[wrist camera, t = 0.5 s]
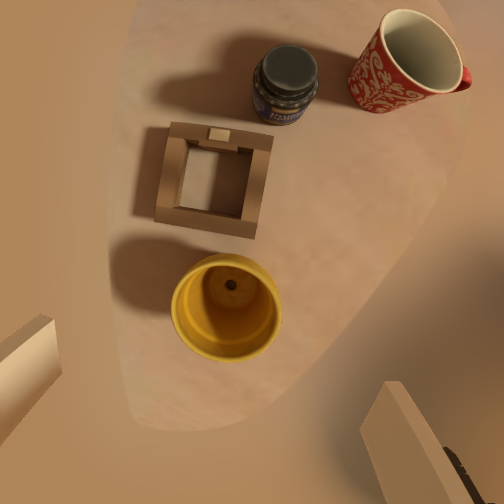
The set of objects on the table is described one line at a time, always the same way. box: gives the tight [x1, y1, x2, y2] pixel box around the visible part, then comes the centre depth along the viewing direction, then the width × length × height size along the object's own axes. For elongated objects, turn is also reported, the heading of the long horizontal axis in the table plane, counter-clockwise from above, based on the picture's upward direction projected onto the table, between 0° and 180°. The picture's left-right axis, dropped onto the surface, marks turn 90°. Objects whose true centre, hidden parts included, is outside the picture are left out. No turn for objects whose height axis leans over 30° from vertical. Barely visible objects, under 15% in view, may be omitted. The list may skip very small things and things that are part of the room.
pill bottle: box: [253, 44, 319, 126], centre depth 26 cm, size 6×6×11 cm
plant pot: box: [171, 253, 282, 363], centre depth 31 cm, size 10×10×10 cm
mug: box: [348, 9, 472, 113], centre depth 24 cm, size 13×9×14 cm
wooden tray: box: [154, 122, 274, 239], centre depth 31 cm, size 11×11×4 cm
